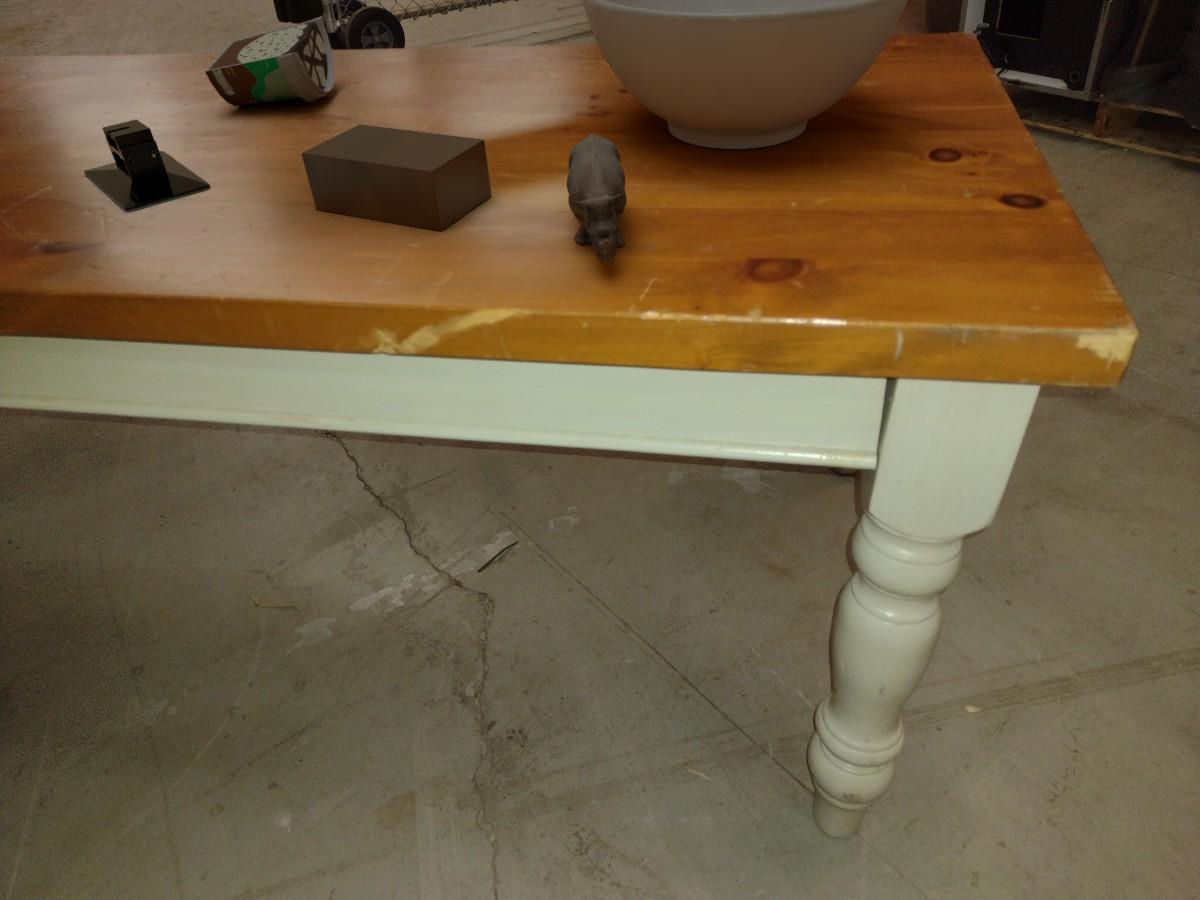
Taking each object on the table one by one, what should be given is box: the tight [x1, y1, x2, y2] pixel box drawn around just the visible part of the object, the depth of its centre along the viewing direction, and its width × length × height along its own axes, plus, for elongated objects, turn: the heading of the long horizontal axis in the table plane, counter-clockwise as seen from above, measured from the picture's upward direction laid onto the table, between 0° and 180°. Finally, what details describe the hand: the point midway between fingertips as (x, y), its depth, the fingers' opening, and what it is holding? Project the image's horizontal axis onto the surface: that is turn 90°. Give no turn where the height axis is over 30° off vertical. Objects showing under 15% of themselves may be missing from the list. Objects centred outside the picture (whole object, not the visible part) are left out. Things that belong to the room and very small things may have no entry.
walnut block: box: [300, 124, 493, 232], centre depth 67 cm, size 4×7×12 cm
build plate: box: [83, 119, 211, 213], centre depth 74 cm, size 12×7×5 cm, turn 40°
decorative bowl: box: [581, 0, 909, 150], centre depth 75 cm, size 27×27×12 cm
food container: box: [204, 17, 336, 107], centre depth 91 cm, size 12×6×10 cm
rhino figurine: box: [566, 133, 628, 264], centre depth 59 cm, size 4×14×6 cm, turn 2°
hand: (301, 18), depth 63 cm, fingers closed
